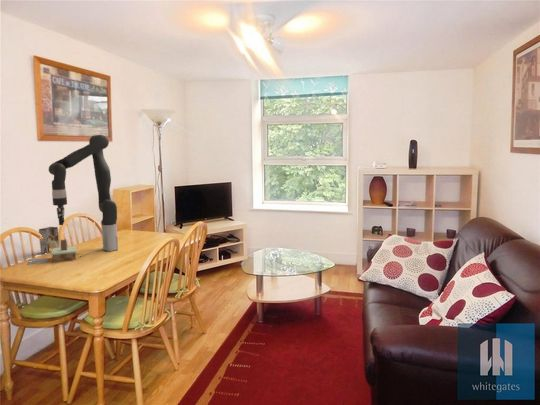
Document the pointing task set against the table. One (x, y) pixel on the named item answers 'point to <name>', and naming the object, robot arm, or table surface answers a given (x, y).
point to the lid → (63, 249)
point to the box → (64, 257)
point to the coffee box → (49, 239)
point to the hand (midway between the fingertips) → (61, 223)
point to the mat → (37, 261)
